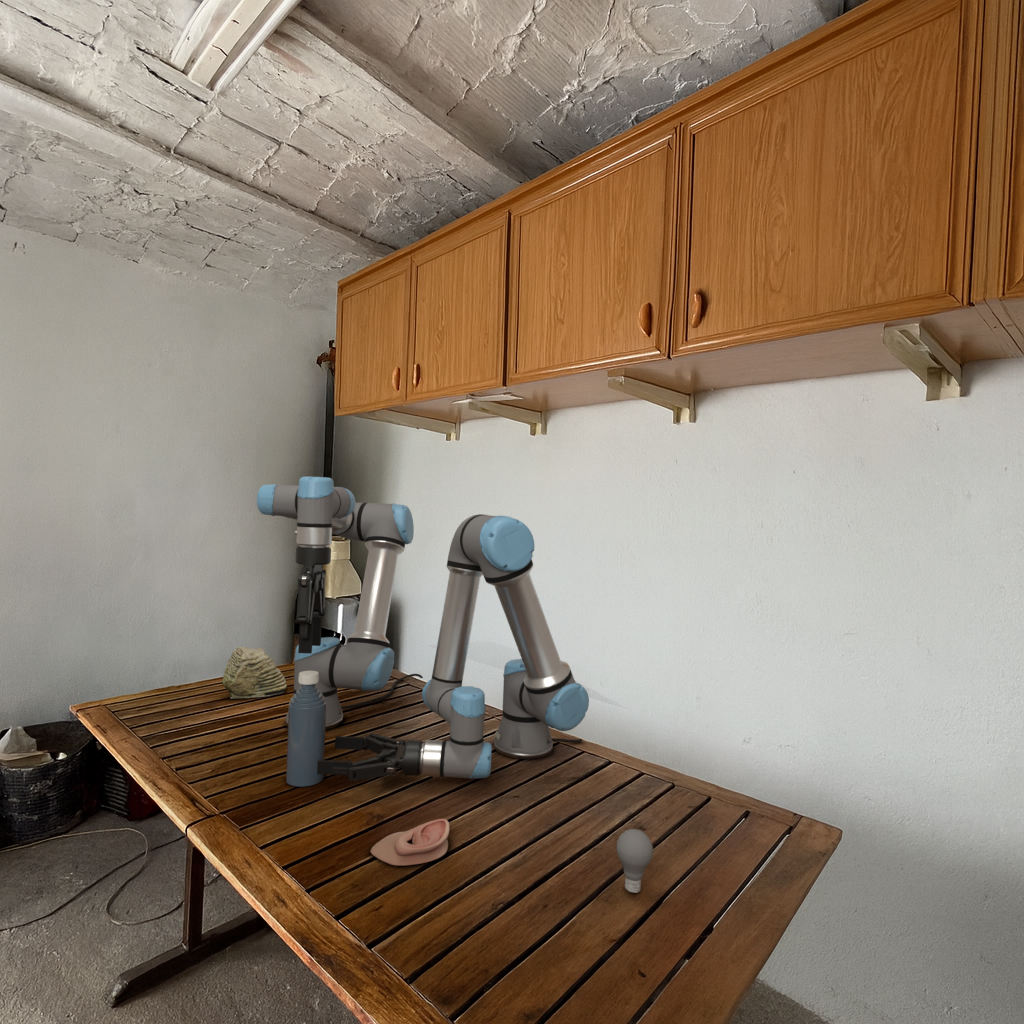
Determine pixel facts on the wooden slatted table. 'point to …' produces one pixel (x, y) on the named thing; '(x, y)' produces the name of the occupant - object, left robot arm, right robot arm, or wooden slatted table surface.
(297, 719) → the bottle
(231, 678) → the fossil
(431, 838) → the anatomical model
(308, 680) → the cap
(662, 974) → the wooden slatted table surface
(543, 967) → the wooden slatted table surface
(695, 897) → the wooden slatted table surface
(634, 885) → the light bulb
